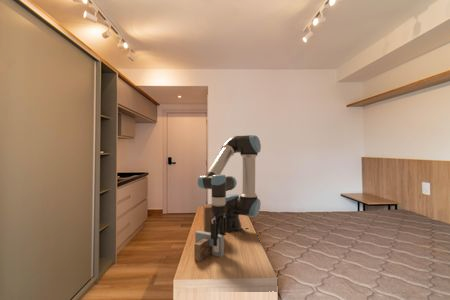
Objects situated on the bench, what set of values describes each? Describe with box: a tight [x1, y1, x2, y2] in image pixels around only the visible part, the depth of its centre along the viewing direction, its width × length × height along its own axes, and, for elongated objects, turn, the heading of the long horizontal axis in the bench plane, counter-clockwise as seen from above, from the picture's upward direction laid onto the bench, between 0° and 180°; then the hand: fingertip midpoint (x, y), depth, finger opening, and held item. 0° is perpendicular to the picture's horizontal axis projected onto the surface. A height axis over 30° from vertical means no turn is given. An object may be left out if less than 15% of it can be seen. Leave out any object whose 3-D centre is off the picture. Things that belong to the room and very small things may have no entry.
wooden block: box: [203, 203, 218, 233], centre depth 144 cm, size 10×10×20 cm
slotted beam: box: [193, 232, 221, 262], centre depth 122 cm, size 22×3×8 cm, turn 151°
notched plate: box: [194, 230, 225, 257], centre depth 122 cm, size 3×16×10 cm, turn 61°
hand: (218, 249), depth 119 cm, fingers open, 5 cm apart
